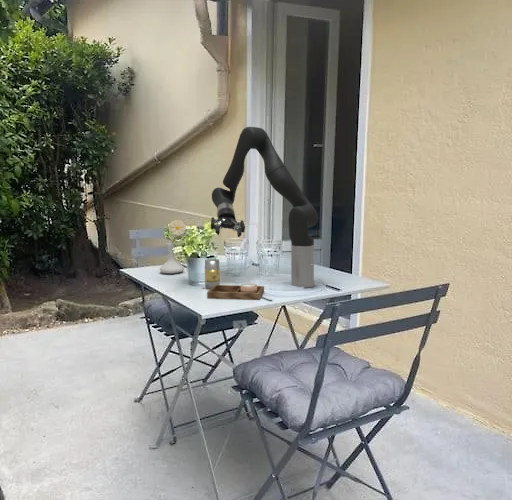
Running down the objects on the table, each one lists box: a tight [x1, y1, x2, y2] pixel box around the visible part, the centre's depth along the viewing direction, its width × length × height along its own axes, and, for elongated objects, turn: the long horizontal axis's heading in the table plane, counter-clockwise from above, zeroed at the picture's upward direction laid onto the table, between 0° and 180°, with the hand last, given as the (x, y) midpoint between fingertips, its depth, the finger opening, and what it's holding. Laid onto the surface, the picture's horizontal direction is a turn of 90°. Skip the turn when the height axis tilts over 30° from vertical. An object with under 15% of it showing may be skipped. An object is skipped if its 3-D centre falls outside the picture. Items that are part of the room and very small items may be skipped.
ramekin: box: [240, 282, 258, 293], centre depth 209 cm, size 6×6×4 cm
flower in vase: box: [159, 219, 187, 274], centre depth 254 cm, size 13×11×25 cm
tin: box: [204, 258, 221, 291], centre depth 222 cm, size 6×6×12 cm
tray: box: [206, 284, 265, 301], centre depth 210 cm, size 20×12×3 cm, turn 81°
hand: (228, 234), depth 222 cm, fingers open, 8 cm apart
